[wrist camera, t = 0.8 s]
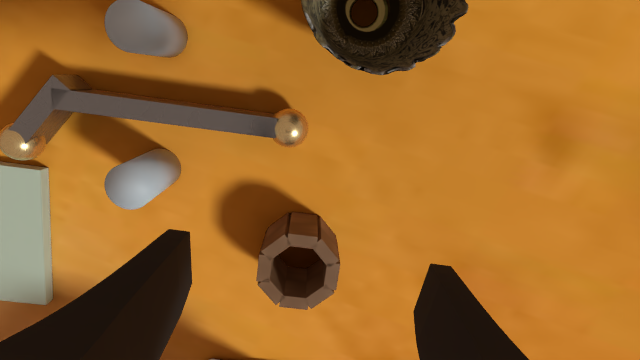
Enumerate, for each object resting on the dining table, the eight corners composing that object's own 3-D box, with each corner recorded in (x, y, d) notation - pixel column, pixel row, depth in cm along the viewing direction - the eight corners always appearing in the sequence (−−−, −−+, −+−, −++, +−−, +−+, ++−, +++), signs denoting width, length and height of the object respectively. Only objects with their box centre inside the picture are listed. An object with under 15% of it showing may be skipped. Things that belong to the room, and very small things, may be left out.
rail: (300, 187, 27) (299, 200, 25) (21, 152, 27) (-12, 161, 24) (310, 106, 26) (310, 110, 23) (17, 66, 25) (-19, 65, 22)
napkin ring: (329, 281, 29) (332, 312, 25) (261, 273, 29) (253, 303, 25) (339, 217, 28) (344, 240, 24) (269, 208, 28) (261, 230, 24)
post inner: (180, 188, 27) (151, 212, 22) (141, 183, 27) (104, 206, 22) (182, 151, 27) (152, 167, 22) (142, 146, 27) (104, 161, 22)
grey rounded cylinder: (186, 60, 25) (156, 56, 20) (144, 54, 25) (104, 48, 20) (188, 16, 25) (157, 1, 20) (145, 10, 24) (104, -7, 20)
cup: (279, 19, 25) (263, -7, 17) (358, -83, 23) (380, -162, 16) (368, 98, 26) (392, 107, 18) (448, 6, 25) (510, -27, 17)
